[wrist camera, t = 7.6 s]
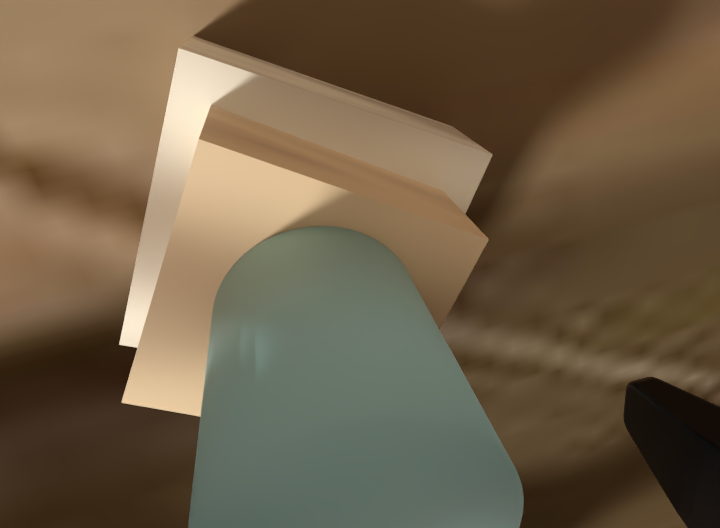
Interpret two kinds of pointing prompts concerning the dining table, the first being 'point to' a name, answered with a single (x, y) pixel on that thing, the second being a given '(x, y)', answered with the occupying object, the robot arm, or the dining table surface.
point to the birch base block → (296, 117)
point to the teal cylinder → (339, 400)
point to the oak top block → (274, 216)
